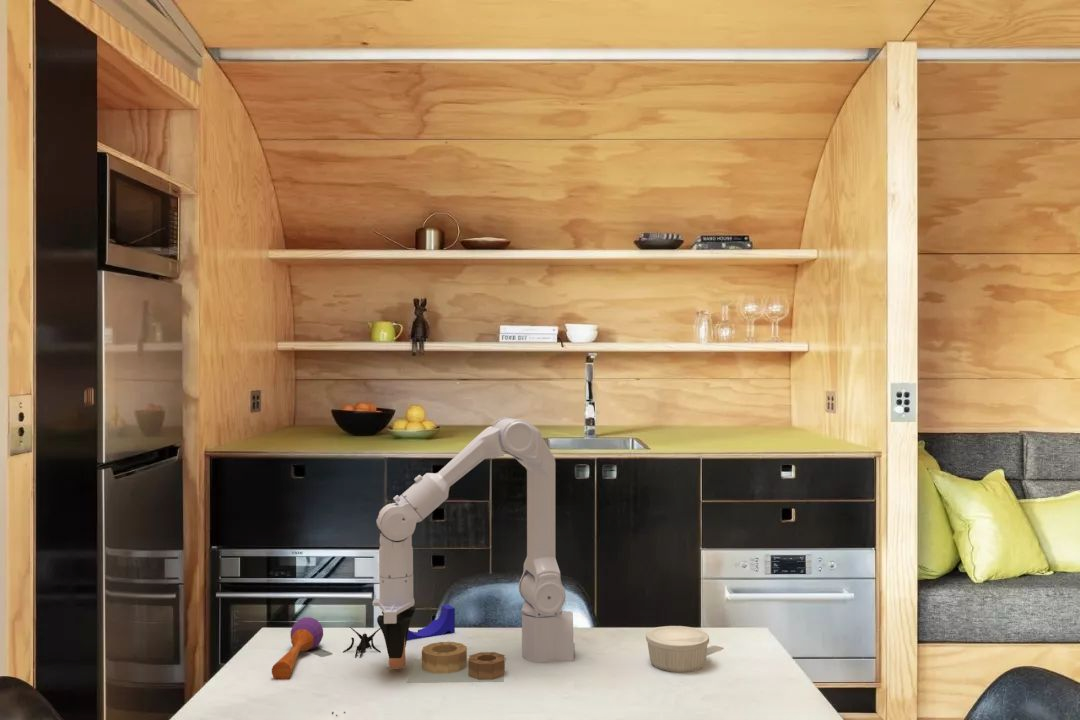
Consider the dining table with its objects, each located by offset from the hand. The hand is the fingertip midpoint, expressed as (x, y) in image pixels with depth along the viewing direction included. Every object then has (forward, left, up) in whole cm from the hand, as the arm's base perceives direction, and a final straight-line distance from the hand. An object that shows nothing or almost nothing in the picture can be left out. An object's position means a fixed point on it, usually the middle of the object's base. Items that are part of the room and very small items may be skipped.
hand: (397, 654), depth 150 cm
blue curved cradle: (-2, -21, -4) cm, 21 cm away
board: (-10, 0, -4) cm, 11 cm away
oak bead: (-8, -2, -3) cm, 9 cm away
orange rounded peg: (0, 0, -2) cm, 2 cm away
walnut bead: (-15, +2, -3) cm, 16 cm away
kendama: (+19, -9, -4) cm, 22 cm away
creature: (+8, -10, -4) cm, 14 cm away
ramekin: (-49, -5, -4) cm, 49 cm away
